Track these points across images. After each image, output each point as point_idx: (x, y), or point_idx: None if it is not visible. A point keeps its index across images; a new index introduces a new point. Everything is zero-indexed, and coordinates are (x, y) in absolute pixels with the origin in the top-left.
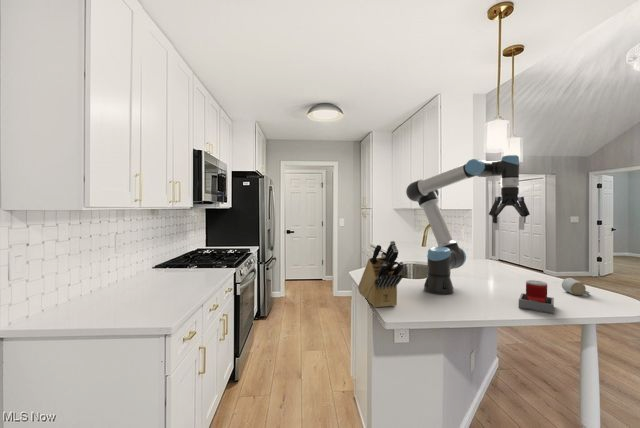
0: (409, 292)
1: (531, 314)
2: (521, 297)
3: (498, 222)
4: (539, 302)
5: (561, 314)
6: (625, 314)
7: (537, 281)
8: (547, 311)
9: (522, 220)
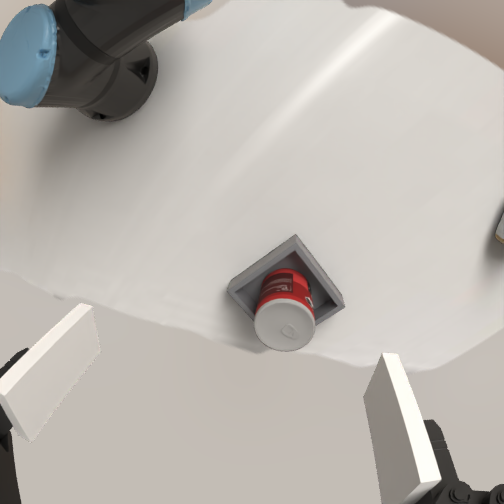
0: None
1: (224, 321)
2: (251, 279)
3: (57, 397)
4: None
5: None
6: (427, 363)
7: (305, 316)
8: None
9: (382, 471)
